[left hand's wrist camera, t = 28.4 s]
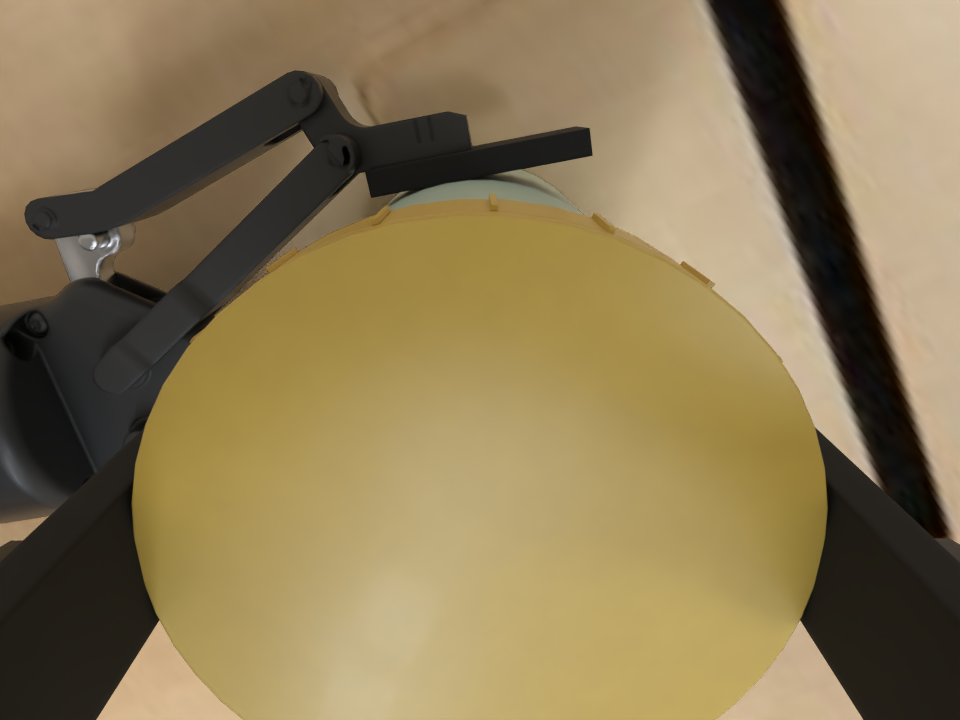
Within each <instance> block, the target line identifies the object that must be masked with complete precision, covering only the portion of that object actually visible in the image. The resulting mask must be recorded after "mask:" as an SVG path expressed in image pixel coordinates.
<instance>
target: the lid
mask: <svg viewBox="0 0 960 720" xmlns="http://www.w3.org/2000/svg"><path fill="white" fill-rule="evenodd" d="M266 270H267V271H268V274H267V275H265V276H264V277H263V278H261V279H260V280H259V281H257V282H256V283H255V284H254V285H252V286H251V287H250V288H249V289H248V290H246V291H245V292H244V293H243V294H241V295H240V296H239V297H238V298H237V299H235V300H234V301H233V302H232V303H230V304H229V305H228V306H227V307H225V308H224V309H223V310H222V311H221V312H219V313H218V314H217V315H216V317H215V318H214V319H213V320H212V321H211V322H210V323H209V324H208V325H207V326H206V328H204V329H203V330H202V331H201V332H199V333H198V334H197V335H195V336H194V337H193V338H192V339H191V341H190V343H191V344H190V345H189V346H188V347H187V349H186V350H185V352H184V353H183V355H182V357H181V358H180V360H179V361H178V363H177V364H176V366H175V367H174V369H173V370H172V372H171V373H170V375H169V376H168V378H167V379H166V381H165V383H164V384H163V386H162V388H161V390H160V393H159V395H158V397H157V399H156V402H155V404H154V406H153V408H152V411H151V413H150V415H149V417H148V420H147V422H146V425H145V428H144V432H143V436H142V440H141V444H140V447H139V451H138V455H137V459H136V463H135V472H134V483H133V494H132V517H133V533H134V539H135V544H136V548H137V553H138V557H139V561H140V566H141V570H142V574H143V579H144V582H145V586H146V589H147V592H148V594H149V597H150V599H151V602H152V605H153V607H154V610H155V612H156V614H157V616H158V618H159V620H160V622H161V623H162V625H163V627H164V629H165V631H166V632H167V634H168V636H169V638H170V639H171V641H172V643H173V645H174V646H175V648H176V649H177V650H178V652H179V653H180V654H181V656H182V657H183V658H184V660H185V661H186V662H187V664H188V665H189V666H190V668H191V669H192V670H193V672H194V673H195V674H196V676H197V677H198V678H199V679H200V680H201V681H202V682H203V683H204V684H205V685H206V686H207V687H208V688H209V689H210V690H211V691H212V692H213V693H214V694H215V695H216V696H217V697H218V698H219V700H220V701H221V702H223V703H224V704H225V705H226V706H227V707H229V708H230V709H231V710H232V711H234V712H235V713H236V714H237V715H238V716H240V717H241V718H242V719H243V720H716V719H717V718H718V717H720V716H721V715H722V714H723V713H725V712H726V711H727V710H728V709H730V708H731V707H732V706H733V705H735V704H736V703H737V702H738V701H739V700H740V698H741V697H742V696H743V695H744V694H745V693H746V692H747V691H748V690H749V689H750V688H751V687H752V686H753V685H754V684H755V683H756V682H757V681H758V680H759V679H760V678H761V677H762V676H763V674H764V673H765V672H766V671H767V669H768V668H769V667H770V665H771V664H772V663H773V661H774V660H775V659H776V658H777V656H778V655H779V654H780V652H781V651H782V650H783V648H784V647H785V645H786V643H787V641H788V640H789V638H790V636H791V635H792V633H793V631H794V629H795V628H796V626H797V624H798V622H799V621H800V619H801V617H802V615H803V612H804V610H805V608H806V605H807V603H808V600H809V598H810V595H811V593H812V590H813V587H814V584H815V580H816V575H817V571H818V567H819V563H820V558H821V554H822V550H823V546H824V540H825V535H826V523H827V512H828V504H827V490H826V477H825V467H824V462H823V458H822V454H821V450H820V446H819V442H818V438H817V434H816V429H815V426H814V424H813V422H812V419H811V417H810V415H809V412H808V410H807V408H806V405H805V403H804V400H803V398H802V396H801V393H800V391H799V389H798V387H797V386H796V384H795V382H794V381H793V379H792V378H791V376H790V374H789V373H788V371H787V370H786V368H785V366H784V365H783V363H782V362H783V361H782V359H781V358H780V357H779V356H778V355H777V354H776V352H775V351H774V350H773V349H772V347H771V346H770V345H769V344H768V343H767V342H766V341H765V339H764V338H763V337H762V336H761V335H760V334H759V333H758V331H757V330H756V329H755V328H754V327H753V326H752V325H751V323H750V322H749V321H748V320H747V319H746V318H745V317H744V316H743V315H742V314H741V313H740V312H738V311H737V310H736V309H735V308H734V307H733V306H731V305H730V304H729V303H728V302H727V301H725V300H724V299H723V298H722V297H721V296H720V295H718V294H717V293H716V292H715V291H714V290H712V289H711V288H712V287H713V286H714V285H715V284H714V283H713V282H712V281H711V280H709V279H708V278H706V277H705V276H704V275H702V274H701V273H699V272H698V271H697V270H695V269H694V268H692V267H691V266H690V265H688V264H687V263H685V262H684V261H683V262H682V263H681V264H678V263H677V262H676V261H674V260H673V259H671V258H670V257H668V256H667V255H665V254H663V253H662V252H660V251H658V250H657V249H655V248H654V247H652V246H650V245H649V244H647V243H646V242H644V241H642V240H641V239H639V238H638V237H636V236H634V235H632V234H629V233H627V232H625V231H623V230H620V229H618V228H616V227H614V226H613V225H611V224H610V223H609V222H608V221H607V220H605V219H604V218H603V217H602V216H601V215H599V214H596V213H594V214H593V217H589V216H585V215H581V214H578V213H574V212H571V211H567V210H564V209H560V208H557V207H553V206H549V205H542V204H535V203H528V202H521V201H514V200H507V199H497V197H496V194H489V199H455V200H447V201H440V202H432V203H424V204H416V205H411V206H407V207H403V208H400V209H396V210H392V211H391V209H390V206H385V207H383V208H382V209H381V210H380V211H379V212H378V213H377V214H376V215H374V216H370V217H367V218H365V219H363V220H360V221H358V222H356V223H353V224H351V225H348V226H346V227H344V228H341V229H339V230H337V231H334V232H332V233H329V234H327V235H326V236H324V237H322V238H321V239H319V240H317V241H316V242H314V243H312V244H311V245H309V246H307V247H306V248H304V249H302V250H301V251H299V252H298V250H297V249H296V248H293V249H292V250H290V251H289V252H288V253H286V254H285V255H283V256H282V257H281V258H279V259H278V260H276V261H275V262H274V263H272V264H271V265H269V266H268V267H267V268H266Z"/></svg>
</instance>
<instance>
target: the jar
mask: <svg viewBox="0 0 960 720" xmlns="http://www.w3.org/2000/svg"><path fill="white" fill-rule="evenodd" d="M489 194H496V197H497V199H507V200H514V201H521V202H528V203H535V204H542V205H549V206H553V207H557V208H560V209H564V210H567V211H571V212H574V213H578V214H581V215H583V214H582V213H581V212H580V211H579V210H578V209H577V208H576V207H575V206H574V205H573V204H572V203H571V202H570V201H569V200H568V199H567V198H566V197H565V196H564V195H562V194H561V193H560V192H559V191H558V190H556V189H555V188H554V187H553V186H552V185H550V184H548V183H547V182H545V181H544V180H542V179H540V178H539V177H537V176H535V175H533V174H530V173H528V172H526V171H524V170H521V169H520V170H515V171H509V172H504V173H499V174H494V175H488V176H483V177H478V178H473V179H467V180H462V181H457V182H452V183H445V184H441V185H436V186H431V187H425V188H420V189H415V190H410V191H404V192H400V193H399V194H397V195H396V196H395V197H394V198H393V199H392V200H391V201H390V202H389V203H388V204H387V205H386V206H390V209H391V211H392V210H396V209H400V208H403V207H407V206H411V205H416V204H424V203H432V202H440V201H447V200H455V199H489Z"/></svg>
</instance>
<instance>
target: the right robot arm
mask: <svg viewBox="0 0 960 720" xmlns="http://www.w3.org/2000/svg"><path fill="white" fill-rule="evenodd" d="M302 130H303V131H304V133H305V135H306V136H307V138H308V139H309V141H310V142H311V144H312V145H313V147H314V149H313V150H312V151H311V152H310V153H309V154H308V155H307V156H306V157H305V158H304V159H303V160H302V161H301V162H300V163H299V164H298V165H297V166H296V167H295V168H294V169H293V170H292V171H291V172H290V173H289V174H288V175H287V176H286V177H285V178H284V179H283V180H282V181H281V182H280V183H279V184H278V185H277V186H276V187H275V188H274V189H273V190H272V191H271V192H270V193H269V194H268V195H267V196H266V197H265V198H264V199H263V200H262V201H261V202H260V203H259V204H258V205H257V206H256V207H255V208H254V209H253V210H252V212H251V213H250V214H249V215H248V216H247V217H246V218H245V219H244V220H243V221H242V222H241V223H240V224H239V225H238V226H237V227H236V228H235V229H234V230H233V231H232V232H231V233H230V234H229V235H228V236H227V237H226V238H225V239H224V240H223V241H222V242H221V243H220V244H219V245H218V246H217V247H216V248H215V249H214V250H213V251H212V252H211V253H210V254H209V255H208V256H207V257H206V258H205V259H204V260H203V261H202V262H201V263H200V264H199V265H198V266H197V267H196V268H195V269H194V270H193V271H192V272H191V273H190V274H189V275H188V276H187V277H186V278H185V279H184V280H182V281H181V282H180V283H179V284H177V285H176V286H175V287H174V288H172V289H171V290H170V291H169V292H168V293H166V292H164V291H162V290H159V289H157V288H155V287H152V286H150V285H148V284H145V283H143V282H141V281H138V280H136V279H134V278H131V277H129V276H127V275H124V274H122V273H119V272H115V270H114V259H115V257H116V255H117V254H118V253H119V252H121V251H123V250H125V249H127V248H129V247H130V246H131V245H132V244H133V241H134V237H135V233H136V227H135V225H134V224H133V222H136V221H139V220H143V219H146V218H149V217H151V216H154V215H157V214H159V213H161V212H163V211H165V210H167V209H169V208H171V207H172V206H174V205H176V204H178V203H179V202H181V201H183V200H184V199H186V198H188V197H190V196H191V195H193V194H195V193H196V192H198V191H200V190H201V189H203V188H205V187H207V186H208V185H210V184H212V183H213V182H215V181H217V180H219V179H220V178H222V177H224V176H225V175H227V174H229V173H231V172H232V171H234V170H236V169H237V168H239V167H241V166H243V165H244V164H246V163H248V162H249V161H251V160H253V159H255V158H256V157H258V156H260V155H261V154H263V153H265V152H266V151H268V150H270V149H272V148H273V147H275V146H277V145H278V144H280V143H282V142H284V141H285V140H287V139H289V138H290V137H292V136H294V135H296V134H297V133H299V132H301V131H302ZM588 156H593V155H592V146H591V137H590V129H589V128H584V127H571V128H566V129H561V130H556V131H550V132H545V133H540V134H535V135H530V136H525V137H519V138H514V139H509V140H504V141H499V142H494V143H489V144H483V145H478V146H473V147H472V142H471V137H470V131H469V125H468V120H467V115H462V114H457V113H453V112H443V113H438V114H433V115H428V116H423V117H418V118H413V119H408V120H403V121H397V122H392V123H387V124H382V125H377V126H372V127H370V126H364V125H362V124H360V123H358V122H357V121H356V120H354V119H353V118H352V116H351V115H350V114H349V112H348V111H347V109H346V107H345V106H344V104H343V103H342V101H341V99H340V98H339V96H338V92H337V89H336V86H335V85H334V84H333V83H332V82H331V80H329V79H327V78H326V77H324V76H320V75H316V74H312V73H308V72H304V71H296V70H295V71H292V72H289V73H287V74H285V75H283V76H282V77H280V78H278V79H277V80H275V81H273V82H272V83H270V84H268V85H267V86H265V87H263V88H262V89H260V90H258V91H257V92H255V93H254V94H252V95H250V96H249V97H247V98H245V99H244V100H242V101H240V102H239V103H237V104H235V105H234V106H232V107H230V108H229V109H227V110H225V111H224V112H222V113H220V114H219V115H217V116H216V117H214V118H212V119H211V120H209V121H207V122H206V123H204V124H202V125H201V126H199V127H197V128H196V129H194V130H192V131H191V132H189V133H187V134H186V135H184V136H182V137H181V138H179V139H178V140H176V141H174V142H173V143H171V144H169V145H168V146H166V147H164V148H163V149H161V150H159V151H158V152H156V153H154V154H153V155H151V156H149V157H148V158H146V159H144V160H143V161H141V162H140V163H138V164H136V165H135V166H133V167H131V168H130V169H128V170H126V171H125V172H123V173H121V174H120V175H118V176H116V177H115V178H113V179H111V180H110V181H108V182H106V183H105V184H103V185H102V186H100V187H98V188H95V189H88V190H82V191H77V192H71V193H66V194H61V195H55V196H50V197H45V198H40V199H36V200H33V201H31V202H30V203H29V204H28V205H27V206H26V210H25V220H26V223H27V225H28V226H29V228H30V230H32V231H33V232H34V233H35V234H36V235H37V236H40V237H42V238H44V239H55V241H56V244H57V247H58V249H59V252H60V255H61V257H62V260H63V263H64V265H65V268H66V271H67V274H68V276H69V279H70V282H71V283H69V284H68V285H67V286H66V287H64V288H63V290H62V291H61V292H60V293H59V294H58V295H56V296H52V297H47V298H42V299H36V300H31V301H25V302H20V303H15V304H9V305H4V306H0V523H9V522H15V521H21V520H27V519H33V518H40V517H46V516H50V515H51V514H52V513H53V512H54V511H55V510H57V509H58V508H59V507H60V506H61V505H62V504H63V503H64V502H65V501H66V500H67V499H68V498H69V497H71V496H72V495H73V494H74V493H75V492H76V491H77V490H78V489H79V488H80V487H81V486H82V485H83V484H84V483H86V482H87V481H88V480H89V479H90V478H91V477H92V476H93V475H94V474H95V473H96V472H97V471H98V470H99V469H101V468H102V467H103V466H104V465H105V464H106V463H107V462H108V461H109V460H110V459H111V458H112V457H113V456H115V455H116V454H117V453H118V452H119V451H120V450H121V449H122V448H123V447H124V446H125V445H126V444H127V443H128V442H130V441H131V440H132V439H133V438H134V437H135V436H136V435H137V434H138V433H139V432H140V431H141V430H142V429H143V428H145V425H146V422H147V420H148V417H149V415H150V413H151V411H152V408H153V406H154V404H155V402H156V399H157V397H158V395H159V393H160V390H161V388H162V386H163V384H164V383H165V381H166V379H167V378H168V376H169V375H170V373H171V372H172V370H173V369H174V367H175V366H176V364H177V363H178V361H179V360H180V358H181V357H182V355H183V353H184V352H185V350H186V349H187V347H188V346H189V345H190V344H191V343H190V341H191V339H192V338H193V337H194V336H195V335H197V334H198V333H199V332H201V331H202V330H203V329H204V328H206V326H207V325H208V324H209V323H210V322H211V321H212V320H213V319H214V318H215V316H214V315H215V314H216V313H217V312H218V311H219V310H220V309H221V308H222V307H223V306H224V305H225V304H226V303H227V302H228V301H229V300H230V299H231V298H233V297H234V296H235V295H236V294H237V293H238V292H239V291H240V289H241V288H242V287H243V286H244V285H245V284H246V283H247V282H248V281H249V280H250V279H251V278H252V277H253V276H254V275H255V274H256V273H257V272H258V271H259V270H260V269H261V268H262V267H263V266H264V265H265V264H266V263H267V262H268V261H269V260H270V259H271V258H273V257H274V256H275V255H276V254H277V253H278V252H279V251H280V250H281V249H282V248H283V247H284V246H285V245H286V244H287V243H288V242H289V241H290V240H291V239H292V238H293V237H294V236H295V235H296V234H297V233H298V232H299V231H300V230H301V229H302V228H303V227H304V226H306V225H307V224H308V223H309V222H310V221H311V220H312V219H313V218H314V217H315V216H316V215H317V214H318V213H319V212H320V211H321V210H322V209H323V208H324V207H325V206H326V205H327V204H328V203H329V202H330V201H331V200H332V199H333V198H334V197H335V196H336V195H337V194H339V193H340V192H341V191H342V190H343V189H344V188H345V187H346V186H347V185H348V184H349V183H350V182H351V181H352V180H353V179H354V178H355V177H356V176H357V175H358V174H359V173H362V172H365V173H366V178H367V182H368V186H369V190H370V194H371V198H373V197H378V196H383V195H389V194H394V193H399V192H404V191H410V190H415V189H420V188H425V187H431V186H436V185H441V184H445V183H452V182H457V181H462V180H467V179H473V178H478V177H483V176H488V175H494V174H499V173H504V172H509V171H515V170H520V169H525V168H530V167H536V166H541V165H546V164H551V163H557V162H562V161H567V160H572V159H578V158H583V157H588Z"/></svg>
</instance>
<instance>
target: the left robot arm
mask: <svg viewBox="0 0 960 720" xmlns="http://www.w3.org/2000/svg"><path fill="white" fill-rule="evenodd" d="M815 429H816V428H815ZM143 432H144V428H143V429H142V430H141V431H140V432H139V433H138V434H137V435H136V436H135V437H134V438H133V439H132V440H131V441H130V442H128V443H127V444H126V445H125V446H124V447H123V448H122V449H121V450H120V451H119V452H118V453H117V454H116V455H115V456H113V457H112V458H111V459H110V460H109V461H108V462H107V463H106V464H105V465H104V466H103V467H102V468H101V469H99V470H98V471H97V472H96V473H95V474H94V475H93V476H92V477H91V478H90V479H89V480H88V481H87V482H86V483H84V484H83V485H82V486H81V487H80V488H79V489H78V490H77V491H76V492H75V493H74V494H73V495H72V496H71V497H69V498H68V499H67V500H66V501H65V502H64V503H63V504H62V505H61V506H60V507H59V508H58V509H57V510H55V511H54V512H53V513H52V514H51V515H50V516H49V517H48V518H47V519H46V520H45V521H44V522H43V523H42V524H40V525H39V526H38V527H37V528H36V529H35V530H34V531H33V532H32V533H31V534H30V535H29V536H28V537H26V538H25V539H24V540H23V541H10V542H8V543H6V544H4V545H3V546H1V547H0V720H96V719H97V718H98V716H99V714H100V713H101V711H102V710H103V708H104V707H105V705H106V703H107V702H108V700H109V699H110V697H111V695H112V694H113V692H114V691H115V689H116V688H117V686H118V684H119V683H120V681H121V680H122V678H123V677H124V675H125V673H126V672H127V670H128V669H129V667H130V666H131V664H132V662H133V661H134V659H135V658H136V656H137V654H138V653H139V651H140V650H141V648H142V647H143V645H144V643H145V642H146V640H147V639H148V637H149V636H150V634H151V632H152V631H153V629H154V628H155V626H156V625H157V623H158V621H159V618H158V616H157V614H156V612H155V610H154V607H153V605H152V602H151V599H150V597H149V594H148V592H147V589H146V586H145V582H144V579H143V574H142V570H141V566H140V561H139V557H138V553H137V548H136V544H135V539H134V533H133V517H132V494H133V483H134V472H135V463H136V459H137V455H138V451H139V447H140V444H141V440H142V436H143ZM816 434H817V438H818V442H819V446H820V450H821V454H822V458H823V462H824V467H825V477H826V490H827V504H828V512H827V523H826V535H825V540H824V546H823V550H822V554H821V558H820V563H819V567H818V571H817V575H816V580H815V584H814V587H813V590H812V593H811V595H810V598H809V600H808V603H807V605H806V608H805V610H804V612H803V615H802V617H801V619H800V620H801V622H802V624H803V625H804V627H805V628H806V630H807V631H808V633H809V635H810V636H811V638H812V639H813V641H814V643H815V644H816V646H817V647H818V649H819V650H820V652H821V654H822V655H823V657H824V658H825V660H826V661H827V663H828V665H829V666H830V668H831V669H832V671H833V672H834V674H835V676H836V677H837V679H838V680H839V682H840V684H841V685H842V687H843V688H844V690H845V691H846V693H847V695H848V696H849V698H850V699H851V701H852V702H853V704H854V706H855V707H856V709H857V710H858V712H859V713H860V715H861V717H862V718H863V720H960V544H958V543H956V542H954V541H953V540H951V539H934V538H933V537H932V536H931V535H930V534H929V533H928V532H927V531H926V530H924V529H923V528H922V527H921V526H920V525H919V524H918V523H917V522H916V521H915V520H914V519H913V518H912V517H911V516H909V515H908V514H907V513H906V512H905V511H904V510H903V509H902V508H901V507H900V506H899V505H898V504H897V503H895V502H894V501H893V500H892V499H891V498H890V497H889V496H888V495H887V494H886V493H885V492H884V491H883V490H882V489H880V488H879V487H878V486H877V485H876V484H875V483H874V482H873V481H872V480H871V479H870V478H869V477H868V476H867V475H865V474H864V473H863V472H862V471H861V470H860V469H859V468H858V467H857V466H856V465H855V464H854V463H853V462H851V461H850V460H849V459H848V458H847V457H846V456H845V455H844V454H843V453H842V452H841V451H840V450H839V449H838V448H836V447H835V446H834V445H833V444H832V443H831V442H830V441H829V440H828V439H827V438H826V437H825V436H824V435H823V434H821V433H820V432H819V431H818V430H817V429H816Z"/></svg>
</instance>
